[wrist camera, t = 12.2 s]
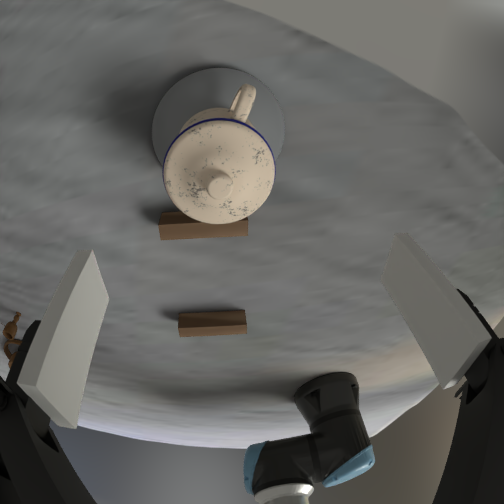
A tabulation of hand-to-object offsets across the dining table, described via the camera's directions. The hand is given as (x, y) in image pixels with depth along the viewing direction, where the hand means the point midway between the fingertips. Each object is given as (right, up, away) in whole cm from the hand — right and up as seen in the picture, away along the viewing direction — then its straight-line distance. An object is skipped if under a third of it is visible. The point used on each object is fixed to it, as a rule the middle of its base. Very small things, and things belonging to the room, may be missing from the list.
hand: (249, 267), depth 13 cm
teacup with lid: (-3, +13, +17) cm, 22 cm away
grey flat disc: (-4, +13, +18) cm, 23 cm away
